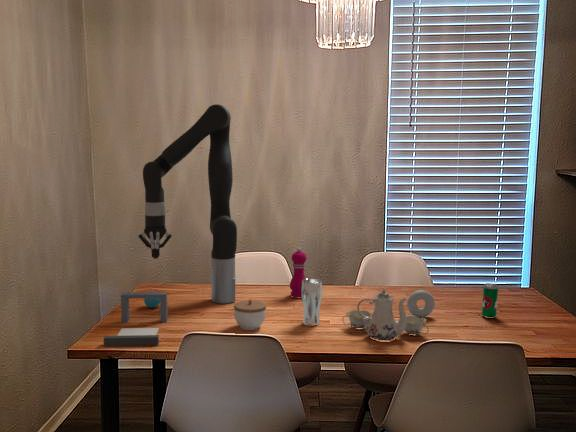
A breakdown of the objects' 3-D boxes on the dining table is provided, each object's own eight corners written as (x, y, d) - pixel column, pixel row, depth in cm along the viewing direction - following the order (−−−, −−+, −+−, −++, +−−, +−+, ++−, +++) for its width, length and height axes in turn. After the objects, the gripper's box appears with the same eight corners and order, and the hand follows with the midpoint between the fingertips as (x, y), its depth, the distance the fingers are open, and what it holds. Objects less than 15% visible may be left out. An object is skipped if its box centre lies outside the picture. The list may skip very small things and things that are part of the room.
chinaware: (427, 335, 182) (429, 285, 181) (429, 348, 165) (431, 293, 165) (343, 328, 188) (345, 280, 187) (337, 340, 171) (339, 287, 171)
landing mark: (159, 328, 180) (159, 327, 180) (153, 341, 169) (153, 340, 169) (121, 329, 179) (121, 328, 179) (113, 341, 168) (113, 341, 168)
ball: (161, 304, 207) (161, 289, 206) (159, 309, 201) (159, 293, 200) (145, 305, 206) (145, 289, 206) (142, 309, 200) (142, 294, 200)
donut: (432, 315, 198) (433, 288, 196) (435, 318, 194) (436, 291, 193) (405, 315, 197) (406, 288, 196) (407, 318, 194) (409, 291, 192)
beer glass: (323, 321, 190) (324, 279, 188) (318, 327, 183) (319, 284, 181) (304, 319, 192) (305, 277, 190) (298, 325, 185) (299, 282, 183)
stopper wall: (158, 342, 167) (158, 335, 167) (157, 345, 165) (157, 337, 165) (105, 343, 166) (105, 335, 166) (103, 346, 164) (103, 338, 164)
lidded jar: (254, 334, 176) (254, 306, 174) (227, 329, 181) (227, 301, 180) (271, 325, 185) (272, 298, 184) (245, 320, 190) (245, 294, 189)
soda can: (497, 319, 194) (499, 286, 192) (482, 318, 195) (484, 286, 193) (495, 315, 199) (497, 283, 197) (480, 314, 200) (482, 282, 198)
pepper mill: (305, 299, 217) (306, 249, 214) (287, 298, 218) (288, 248, 216) (308, 294, 224) (309, 246, 221) (291, 293, 225) (292, 245, 223)
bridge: (123, 319, 189) (122, 292, 188) (167, 319, 190) (167, 292, 189) (121, 322, 186) (120, 294, 185) (166, 322, 187) (165, 294, 186)
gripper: (135, 214, 205) (136, 260, 207) (171, 215, 206) (171, 260, 208) (139, 212, 212) (140, 256, 214) (173, 212, 213) (174, 256, 215)
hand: (155, 258), depth 211 cm, fingers closed
